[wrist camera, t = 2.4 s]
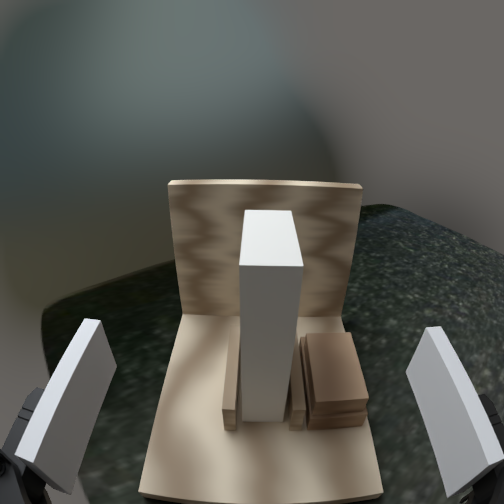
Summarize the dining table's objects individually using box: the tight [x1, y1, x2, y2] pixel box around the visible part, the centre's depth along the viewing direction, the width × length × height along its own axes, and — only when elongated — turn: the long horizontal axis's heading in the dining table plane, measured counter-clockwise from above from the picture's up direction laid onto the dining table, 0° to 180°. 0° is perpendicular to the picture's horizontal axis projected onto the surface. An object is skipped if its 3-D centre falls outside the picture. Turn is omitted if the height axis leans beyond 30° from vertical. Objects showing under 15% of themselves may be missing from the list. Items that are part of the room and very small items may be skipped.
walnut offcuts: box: [299, 332, 369, 430], centre depth 28 cm, size 5×10×4 cm, turn 179°
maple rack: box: [138, 180, 383, 504], centre depth 25 cm, size 19×24×18 cm
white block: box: [239, 210, 304, 422], centre depth 25 cm, size 4×8×16 cm, turn 179°
